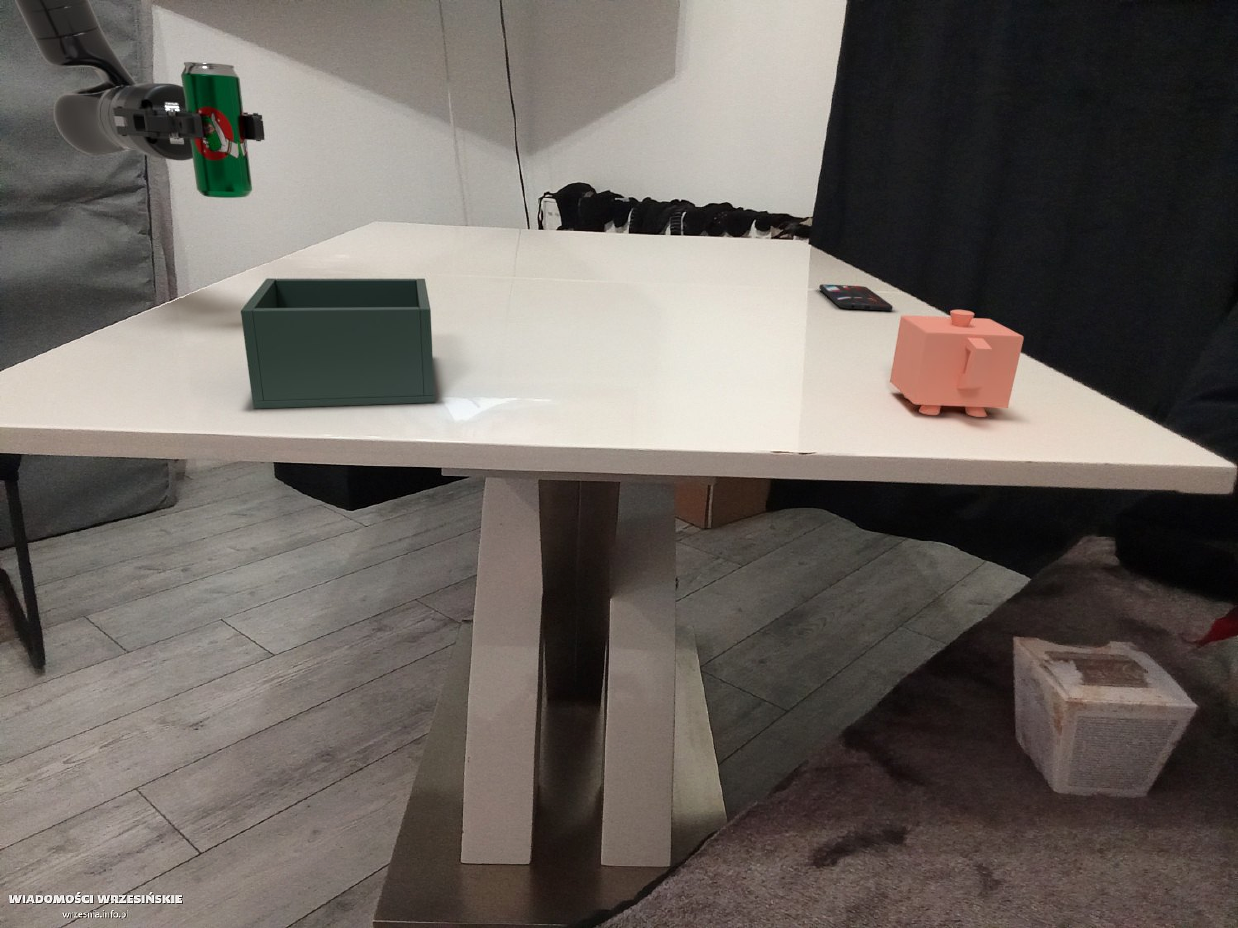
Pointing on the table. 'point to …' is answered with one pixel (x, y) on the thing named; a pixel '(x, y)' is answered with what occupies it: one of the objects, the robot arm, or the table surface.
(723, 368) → the table surface
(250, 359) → the bin
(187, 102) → the soda can
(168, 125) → the robot arm
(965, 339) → the pink cube teapot
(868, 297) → the smartphone
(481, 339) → the table surface
